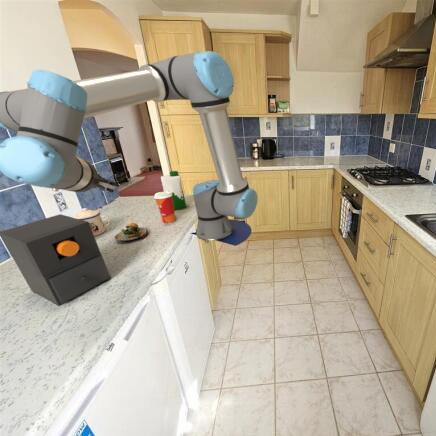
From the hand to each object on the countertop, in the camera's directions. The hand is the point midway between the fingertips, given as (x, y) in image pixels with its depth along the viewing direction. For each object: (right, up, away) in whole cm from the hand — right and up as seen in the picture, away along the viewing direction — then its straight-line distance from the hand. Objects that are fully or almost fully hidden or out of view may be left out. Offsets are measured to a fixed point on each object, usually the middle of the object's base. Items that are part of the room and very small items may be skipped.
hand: (108, 184), depth 74 cm
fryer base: (-12, -31, +1) cm, 33 cm away
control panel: (-12, -22, -3) cm, 25 cm away
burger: (-12, -18, +30) cm, 37 cm away
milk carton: (-8, -5, +61) cm, 62 cm away
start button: (-5, -20, -7) cm, 22 cm away
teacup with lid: (-31, -17, +35) cm, 49 cm away
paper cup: (-4, -12, +45) cm, 46 cm away
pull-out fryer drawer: (-10, -30, 0) cm, 32 cm away
